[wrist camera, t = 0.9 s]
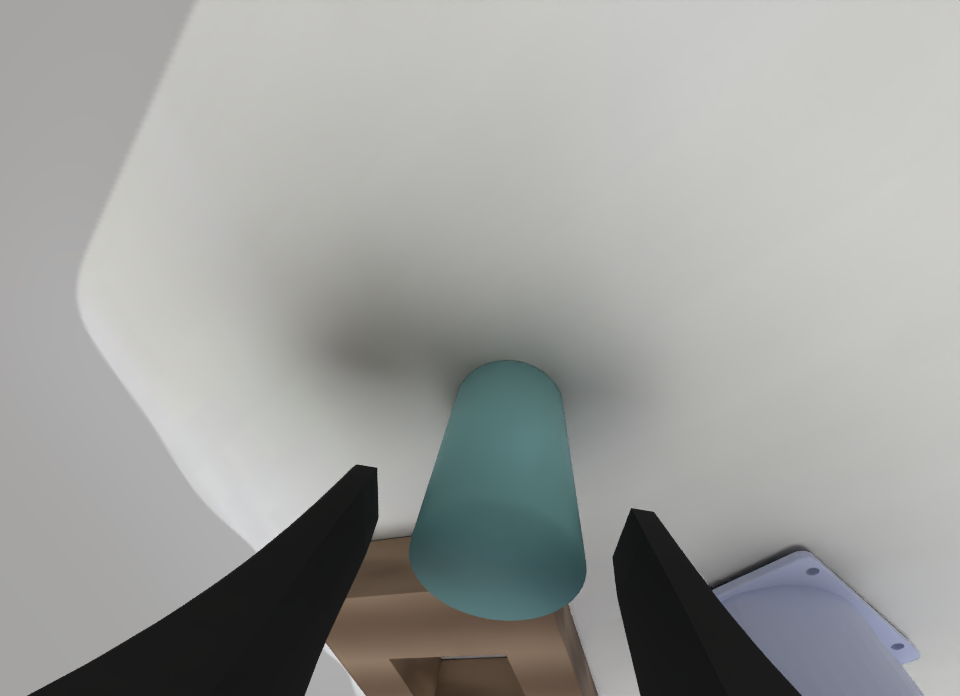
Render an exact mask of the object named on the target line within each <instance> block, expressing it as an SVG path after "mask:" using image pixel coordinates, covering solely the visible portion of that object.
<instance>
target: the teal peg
mask: <svg viewBox="0 0 960 696" xmlns="http://www.w3.org/2000/svg"><path fill="white" fill-rule="evenodd" d="M409 560H410V564H411V567H412V570H413V572H414V574H415V575H416V577H417V579H418V580H419V581H420V583H421V584H422V585H423V586H424V587H425V588H426V589H427V590H428V591H429V592H430V593H431V594H432V595H433V596H435V597H436V598H437V599H439V600H440V601H442V602H443V603H445V604H447V605H449V606H450V607H453V608H455V609H457V610H459V611H462V612H464V613H467V614H470V615H474V616H477V617H481V618H486V619H493V620H504V621H516V620H527V619H533V618H538V617H542V616H545V615H548V614H551V613H553V612H555V611H557V610H559V609H561V608H562V607H564V606H566V605H567V604H568V603H569V602H571V601H572V600H573V599H574V598H575V597H576V595H577V594H578V593H579V591H580V590H581V588H582V586H583V584H584V581H585V577H586V560H585V553H584V546H583V539H582V532H581V525H580V519H579V512H578V505H577V498H576V491H575V484H574V478H573V471H572V464H571V457H570V450H569V443H568V436H567V430H566V423H565V416H564V409H563V402H562V398H561V394H560V392H559V389H558V388H557V386H556V384H555V383H554V382H553V380H552V379H551V378H550V377H549V376H548V375H547V374H545V373H544V372H543V371H541V370H540V369H538V368H536V367H534V366H532V365H530V364H527V363H523V362H519V361H510V360H504V361H496V362H491V363H488V364H485V365H483V366H481V367H479V368H477V369H476V370H474V371H473V372H472V373H470V374H469V375H468V376H467V377H466V378H465V380H464V381H463V383H462V384H461V386H460V388H459V390H458V394H457V397H456V400H455V403H454V406H453V409H452V412H451V415H450V419H449V422H448V425H447V428H446V431H445V434H444V437H443V440H442V444H441V447H440V450H439V453H438V456H437V459H436V462H435V465H434V469H433V472H432V475H431V478H430V481H429V484H428V487H427V490H426V494H425V497H424V500H423V503H422V506H421V509H420V512H419V515H418V519H417V522H416V525H415V528H414V531H413V534H412V537H411V541H410V545H409Z"/></svg>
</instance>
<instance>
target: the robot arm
mask: <svg viewBox="0 0 960 696" xmlns="http://www.w3.org/2000/svg"><path fill="white" fill-rule="evenodd" d="M377 521H378V481H377V468H375V467H369V466H363V465H355V466H354V467H352V468H351V469H350V470H349V471H348V472H347V473H346V474H345V475H344V476H343V477H342V478H341V479H340V480H339V481H338V482H337V483H336V484H335V485H334V486H333V487H332V488H331V489H330V490H329V491H328V492H327V493H326V494H325V495H323V496H322V497H321V498H320V499H319V500H318V501H317V502H316V503H315V504H314V505H313V506H311V507H310V508H309V509H308V510H307V511H306V512H305V513H304V514H303V515H301V516H300V517H299V518H298V519H297V520H296V521H295V522H294V523H292V524H291V525H290V526H289V527H288V528H287V529H285V530H284V531H283V532H282V533H280V534H279V535H278V536H277V537H276V538H274V539H273V540H272V541H271V542H270V543H268V544H267V545H266V546H265V547H263V548H262V549H261V550H260V551H258V552H257V553H256V554H255V555H253V556H252V557H251V558H249V559H248V560H247V561H246V562H244V563H243V564H242V565H240V566H239V567H238V568H236V569H235V570H234V571H232V572H231V573H229V574H228V575H227V576H225V577H224V578H223V579H221V580H220V581H218V582H217V583H215V584H214V585H213V586H211V587H210V588H208V589H207V590H205V591H204V592H203V593H201V594H199V595H198V596H196V597H195V598H193V599H192V600H190V601H189V602H188V603H186V604H185V605H183V606H182V607H180V608H178V609H177V610H176V611H174V612H172V613H171V614H169V615H168V616H166V617H164V618H163V619H161V620H160V621H158V622H157V623H155V624H153V625H152V626H150V627H148V628H147V629H145V630H143V631H142V632H140V633H138V634H136V635H135V636H133V637H131V638H130V639H128V640H127V641H125V642H123V643H122V644H120V645H118V646H116V647H115V648H113V649H112V650H110V651H108V652H106V653H105V654H103V655H102V656H100V657H98V658H96V659H95V660H92V661H91V662H89V663H87V664H85V665H84V666H82V667H80V668H78V669H76V670H75V671H73V672H71V673H69V674H67V675H65V676H63V677H61V678H59V679H58V680H56V681H54V682H52V683H50V684H48V685H46V686H45V687H43V688H41V689H39V690H37V691H35V692H33V693H31V694H30V695H28V696H305V693H306V690H307V688H308V685H309V682H310V679H311V677H312V674H313V672H314V669H315V666H316V664H317V661H318V659H319V656H320V654H321V652H322V649H323V647H324V644H325V642H326V640H327V638H328V636H329V633H330V631H331V629H332V627H333V625H334V623H335V620H336V618H337V616H338V614H339V612H340V610H341V608H342V605H343V603H344V601H345V599H346V597H347V595H348V593H349V590H350V588H351V586H352V584H353V582H354V580H355V577H356V575H357V573H358V571H359V569H360V567H361V564H362V562H363V560H364V558H365V556H366V553H367V550H368V547H369V545H370V542H371V539H372V536H373V533H374V530H375V527H376V524H377ZM613 566H614V574H615V583H616V590H617V597H618V602H619V606H620V611H621V615H622V619H623V624H624V628H625V632H626V637H627V641H628V645H629V649H630V653H631V657H632V662H633V666H634V670H635V674H636V678H637V683H638V687H639V691H640V695H641V696H924V694H923V693H922V692H921V690H920V689H919V688H918V686H917V685H916V684H915V682H914V681H913V680H912V678H911V677H910V676H909V674H908V673H907V672H906V670H905V669H904V668H903V666H902V665H901V664H905V663H908V662H911V661H914V660H917V659H918V658H919V657H920V652H919V651H918V650H917V648H916V647H915V646H914V645H913V644H912V643H911V642H910V641H909V640H908V639H907V638H905V637H904V636H903V635H902V634H901V633H900V632H899V631H898V630H896V629H895V628H894V627H893V626H892V625H891V624H890V623H889V622H888V621H886V620H885V619H884V618H883V617H882V616H881V615H880V614H879V613H878V612H876V611H875V610H874V609H873V608H872V607H871V606H870V605H869V604H868V603H866V602H865V601H864V600H863V599H862V598H861V597H860V596H859V595H857V594H856V593H855V592H854V591H853V590H852V589H851V588H850V587H849V586H847V585H846V584H845V583H844V582H843V581H842V580H841V579H840V578H839V577H837V576H836V575H835V574H834V573H833V572H832V571H831V570H830V569H829V568H827V567H826V566H825V565H824V564H823V563H822V562H821V561H820V560H818V559H817V558H816V557H815V556H814V555H813V554H812V553H810V552H808V551H797V552H794V553H791V554H789V555H787V556H785V557H783V558H781V559H778V560H776V561H774V562H772V563H770V564H767V565H765V566H763V567H761V568H759V569H757V570H754V571H752V572H750V573H748V574H746V575H743V576H741V577H739V578H737V579H735V580H733V581H730V582H728V583H726V584H724V585H722V586H719V587H717V588H715V589H713V590H711V589H710V587H709V586H708V585H707V584H706V582H705V581H704V580H703V578H702V577H701V576H700V574H699V573H698V572H697V570H696V569H695V568H694V566H693V565H692V564H691V562H690V561H689V560H688V558H687V557H686V556H685V554H684V553H683V551H682V550H681V549H680V547H679V546H678V545H677V543H676V542H675V540H674V539H673V538H672V536H671V535H670V533H669V532H668V531H667V529H666V528H665V527H664V525H663V524H662V522H661V521H660V520H659V518H658V517H657V516H656V514H655V513H654V512H651V511H645V510H639V509H633V508H631V510H630V513H629V515H628V518H627V521H626V523H625V526H624V529H623V531H622V534H621V536H620V539H619V542H618V544H617V547H616V549H615V552H614V555H613Z"/></svg>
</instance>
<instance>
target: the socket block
mask: <svg viewBox="0 0 960 696" xmlns="http://www.w3.org/2000/svg"><path fill="white" fill-rule="evenodd" d="M411 537H412V536H411ZM411 537H403V538H394V539H386V540H378V541H371V542H370V545H369V547H368V550H367V553H366V556H365V558H364V560H363V562H362V564H361V567H360V569H359V571H358V573H357V575H356V577H355V580H354V582H353V584H352V586H351V588H350V590H349V593H348V595H347V597H346V599H345V601H344V603H343V605H342V608H341V610H340V612H339V614H338V616H337V618H336V620H335V623H334V625H333V627H332V629H331V631H330V633H329V636H328V638H327V640H326V644H327V645H328V646H329V648H330V649H331V650H332V652H333V653H334V654H335V656H336V657H337V658H338V660H339V661H340V662H341V664H342V665H343V666H344V667H345V669H346V670H347V671H348V673H349V674H350V675H351V677H352V678H353V679H354V681H355V682H356V683H357V685H358V686H359V687H360V689H361V690H362V691H363V692H364V694H365V695H366V696H598V694H597V691H596V688H595V685H594V682H593V679H592V676H591V673H590V670H589V667H588V664H587V661H586V658H585V655H584V652H583V649H582V646H581V643H580V640H579V637H578V634H577V631H576V628H575V625H574V622H573V619H572V616H571V613H570V610H569V607H568V604H567V605H566V606H564V607H562V608H561V609H559V610H557V611H555V612H553V613H551V614H548V615H545V616H542V617H538V618H533V619H527V620H516V621H504V620H493V619H486V618H481V617H477V616H474V615H470V614H467V613H464V612H462V611H459V610H457V609H455V608H453V607H450V606H449V605H447V604H445V603H443V602H442V601H440V600H439V599H437V598H436V597H435V596H433V595H432V594H431V593H430V592H429V591H428V590H427V589H426V588H425V587H424V586H423V585H422V584H421V583H420V581H419V580H418V579H417V577H416V575H415V574H414V572H413V570H412V567H411V564H410V560H409V545H410V541H411ZM497 654H506V656H507V658H484V659H458V660H441V659H440V657H449V656H473V655H497Z"/></svg>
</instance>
